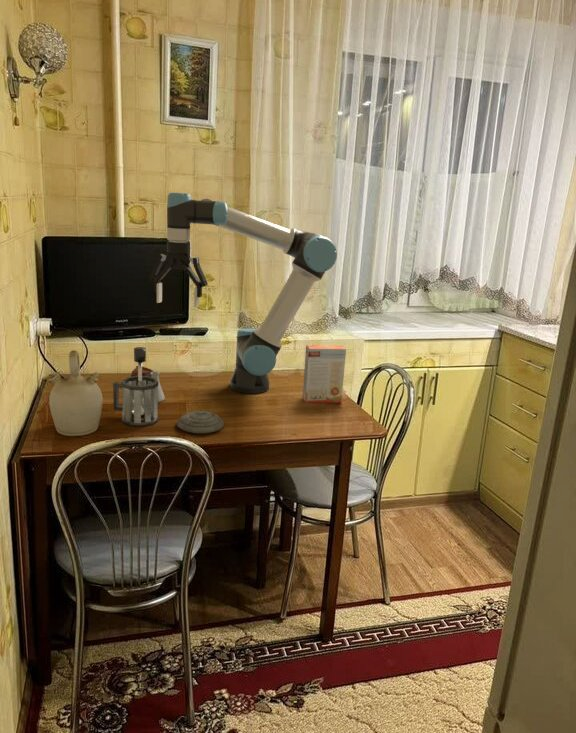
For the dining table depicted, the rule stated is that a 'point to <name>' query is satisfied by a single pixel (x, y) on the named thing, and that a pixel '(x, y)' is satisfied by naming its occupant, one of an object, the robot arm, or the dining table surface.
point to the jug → (75, 401)
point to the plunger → (140, 371)
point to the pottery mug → (144, 373)
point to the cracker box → (324, 373)
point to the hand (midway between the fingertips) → (177, 304)
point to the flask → (160, 392)
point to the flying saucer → (200, 422)
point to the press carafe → (137, 400)
